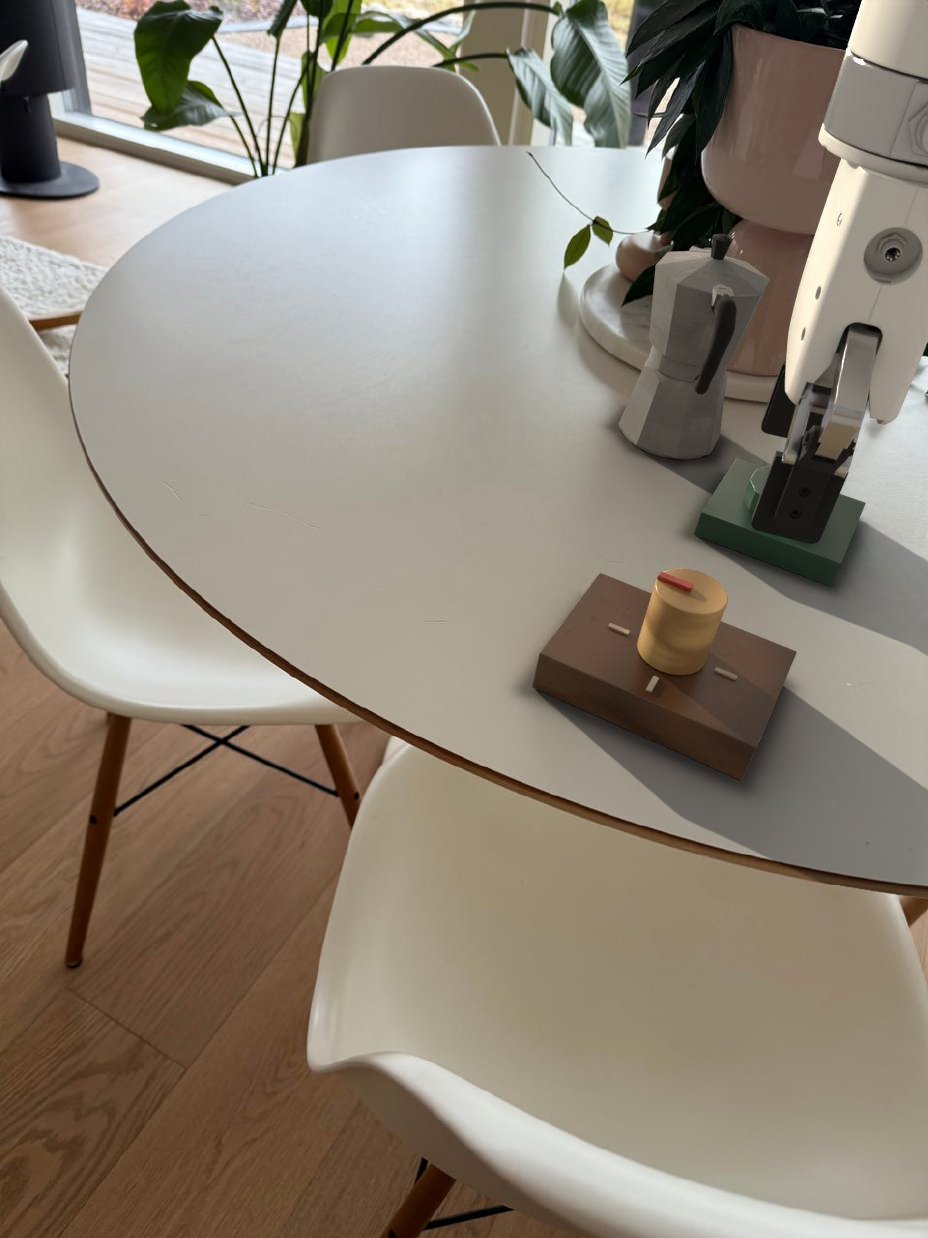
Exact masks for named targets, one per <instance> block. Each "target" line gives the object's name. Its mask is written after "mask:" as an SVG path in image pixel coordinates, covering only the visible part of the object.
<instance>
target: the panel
mask: <svg viewBox="0 0 928 1238" xmlns="http://www.w3.org/2000/svg"><path fill="white" fill-rule="evenodd" d="M651 595H652V592H650V591H647V590H644V589H642V588H640V587H637V586H634V585H632V584H629V583H627V582H624V581H622V580H620V579H617V578H615V577H612V576H609V575H607V574H604V573H602V572H598V573H597V575H596V576H595V578H593V580H592V581H591V583H590V584H589V585H588V587H587V588H586V589H585V591H584V592H583V593H582V595H581V596H580V597H579V599H577V602H576V603H575V605H573V607H572V609H571V610H570V611H569V612H568V614H567V615H566V617H565V618H564V619H563V621H562V622H561V623H560V624H559V626H558V627H557V629H556V630H555V631H554V633H553V634H552V635H551V637H550V638H549V639H548V641H547V642H546V644H545V645H544V646H543V648H542V649H541V650H540V652H539V653H538V657H537V663H536V666H535V671H534V676H533V681H532V685H531V687H532V688H533V689H535V690H538V691H539V692H542V693H544V694H547V695H549V696H551V697H553V698H556V699H558V700H561V701H562V702H564V703H567V704H569V705H572V706H573V707H576V708H577V709H580V710H582V711H584V712H587V713H589V714H591V715H593V716H596V717H598V718H600V719H603V720H605V721H607V722H608V723H611V724H614V725H616V726H618V727H621V728H623V729H625V730H626V731H630V732H631V733H633V734H636V735H639V736H640V737H643V738H644V739H647V740H650V741H652V742H654V743H656V744H659V745H661V746H663V747H666V748H668V749H669V750H671V751H675V752H676V753H679V754H681V755H683V756H686V757H687V758H689V759H692V760H694V761H696V762H698V763H701V764H703V765H706V766H707V767H710V768H713V769H715V770H717V771H719V772H721V773H724V774H726V775H728V776H730V777H732V778H735V779H736V780H739V781H743V780H744V778H745V776H746V774H747V772H748V769H749V767H750V765H751V762H752V760H753V758H754V756H755V754H756V751H757V749H758V747H759V744H760V742H761V740H762V737H763V735H764V732H765V730H766V728H767V725H768V723H769V721H770V718H771V716H772V714H773V711H774V708H775V706H776V703H777V701H778V698H779V696H780V694H781V692H782V689H783V686H784V684H785V682H786V680H787V678H788V675H789V672H790V670H791V667H792V665H793V663H794V660H795V658H796V655H797V651H796V650H794V649H792V648H789V647H787V646H784V645H783V644H780V643H776V642H774V641H771V640H769V639H767V638H764V637H762V636H759V635H757V634H754V633H752V632H749V631H747V630H745V629H742V628H740V627H737V626H735V625H731V624H729V623H727V622H724V621H722V620H721V622H720V624H719V627H718V630H717V632H716V635H715V638H714V641H713V643H712V646H711V649H710V651H709V654H708V657H707V660H706V662H705V665H704V666H703V667H702V668H701V669H700V670H699V671H697V672H695V673H693V674H689V675H673V674H668V673H664V672H662V671H659V670H657V669H655V668H654V667H652V666H651V665H649V664H648V663H647V662H646V661H645V660H644V659H643V658H642V657H641V655H640V653H639V651H638V647H637V642H638V638H639V635H640V632H641V628H642V625H643V622H644V618H645V615H646V612H647V609H648V605H649V602H650V599H651Z"/></svg>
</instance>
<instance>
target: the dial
mask: <svg viewBox="0 0 928 1238" xmlns="http://www.w3.org/2000/svg"><path fill="white" fill-rule="evenodd" d="M651 593H652V595H651V599H650V602H649V605H648V609H647V612H646V615H645V618H644V622H643V625H642V628H641V632H640V635H639V638H638V642H637V647H638V651H639V653H640V655H641V657H642V658H643V659H644V660H645V661H646V662H647V663H648V664H649V665H651V666H652V667H654V668H655V669H657V670H659V671H662V672H664V673H668V674H673V675H689V674H693V673H695V672H697V671H699V670H700V669H701V668H702V667H703V666H704V665H705V662H706V660H707V657H708V654H709V651H710V649H711V646H712V643H713V641H714V638H715V635H716V632H717V630H718V627H719V624H720V622H721V621H722V619H723V616H724V613H725V611H726V608H727V605H728V602H729V596H728V593H727V590H726V589H725V586H723V584H721V583H720V581H718V580H717V579H716V578H714V577H713V576H711V575H709V574H708V573H705V572H703V571H700V570H696V569H692V568H684V567H677V568H671V569H668V570H665V571H660V572H659V573H658V575H657V577H656V578H655V583H654V586H653V589H652V591H651Z"/></svg>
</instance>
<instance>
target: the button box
mask: <svg viewBox="0 0 928 1238" xmlns="http://www.w3.org/2000/svg"><path fill="white" fill-rule="evenodd" d="M770 467H771V464H770V465H767V466H762V465H759V464H756V463H754V462H750V461H747V460H744V459H742V458H739V457H736V458H735V459H734V460H733V463H732V464H731V465H730V467H729V468H728V470H727V471H726V472H725V474H724V476H723V478H722V479H721V480H720V482H719V484H718V485H717V487H716V488H715V490H714V491H713V493H712V494H711V496H710V498H709V499H708V500H707V502H706V504H705V505H704V507H703V508H702V510H701V511H700V514H699V518H698V520H697V524H696V526H695V530H694V531H693V535H694V536H696V537H699V538H701V539H704V540H706V541H709V542H712V543H715V544H718V545H720V546H723V547H725V548H728V549H730V550H733V551H735V552H738V553H741V554H744V555H747V556H749V557H752V558H755V559H757V560H760V561H761V562H765V563H767V564H770V565H773V566H775V567H777V568H781V569H782V570H783V569H784V570H786V571H789V572H791V573H794V574H797V575H799V576H802V577H805V578H806V579H810V580H813V581H815V582H818V583H821V584H823V585H826V586H829V587H832V586H833V584H834V581H835V579H836V577H837V575H838V572H839V570H840V568H841V565H842V563H843V561H844V558H845V555H846V553H847V551H848V549H849V546H850V543H851V541H852V538H853V536H854V534H855V531H856V528H857V526H858V524H859V522H860V519H861V516H862V514H863V512H864V509H865V507H866V502H865V501H862V500H859V499H856V498H853V497H851V496H848V495H845V494H842V493H840V494H839V497H838V499H837V501H836V504H835V506H834V508H833V511H832V513H831V515H830V518H829V520H828V522H827V525H826V527H825V529H824V532H823V534H822V536H821V539H820V540H819V541H818V542H817V543H815V544H808V543H804V542H800V541H796V540H792V539H788V538H784V537H780V536H776V535H772V534H768V533H764V532H760V531H757V530H755V529H753V527H752V525H751V523H752V516H753V513H754V510H755V508H756V505H757V502H758V499H759V497H760V494H761V491H762V488H763V486H764V483H765V480H766V478H767V475H768V472H769V469H770Z"/></svg>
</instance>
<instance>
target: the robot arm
mask: <svg viewBox="0 0 928 1238" xmlns="http://www.w3.org/2000/svg"><path fill="white" fill-rule="evenodd" d="M817 138H818V139H817V140H818V142H819V143H820V145H821V146H822V147H824V148H825V149H826V150H827V151H828V152H830V153H831V154H833V155H835V156H837V157H839V158H840V161H839V163H838V167H837V169H836V171H835V175H834V178H833V181H832V184H831V186H830V189H829V192H828V195H827V198H826V202H825V204H824V207H823V210H822V213H821V216H820V219H819V221H818V226H817V228H816V231H815V234H814V236H813V239H812V243H811V247H810V249H809V252H808V255H807V256H808V257H807V259H806V263H805V265H804V269H803V273H802V276H801V279H800V283H799V286H798V290H797V293H796V298H795V302H794V305H793V310H792V314H791V318H790V323H789V327H788V333H787V334H788V336H787V342H786V343H787V344H786V356H785V357H786V359H785V360H782V362H781V365H780V367H779V370H778V373H777V377H776V379H775V382H774V384H773V388H772V391H771V393H770V396H769V399H768V401H767V405H766V408H765V411H764V414H763V417H762V419H761V424H760V429H761V431H762V432H763V433H764V434H767V435H772V436H775V437H779V438H784V439H786V441H785V444H784V448H783V451H781V450H775V453H774V456H773V459H772V461H771V463H770V465H771V467H770V469H769V472H768V475H767V478H766V480H765V483H764V486H763V488H762V491H761V494H760V497H759V499H758V502H757V505H756V508H755V510H754V513H753V516H752V523H751V525H752V527H753V529H755V530H757V531H760V532H764V533H768V534H772V535H776V536H780V537H784V538H788V539H792V540H796V541H800V542H804V543H808V544H815V543H817V542H818V541H819V540H820V539H821V536H822V534H823V532H824V529H825V527H826V525H827V522H828V520H829V518H830V515H831V513H832V511H833V508H834V506H835V504H836V501H837V499H838V497H839V494H841V492H842V489H843V487H844V485H845V483H846V480H847V478H848V476H849V471H850V468H851V465H852V461H853V458H854V454H855V450H856V447H857V443H858V439H859V436H860V432H861V428H862V425H863V422H864V418H865V416H866V411H867V406H868V410H869V419H873V420H876V423H877V424H878V425H882V426H885V425H888V424H890V423H892V422H893V421H895V419H897V418H898V417H899V414H900V413H901V410H902V407H903V405H904V402H905V400H906V397H907V395H908V392H909V390H910V388H911V385H912V382H913V380H914V377H915V375H916V372H917V370H918V367H919V364H920V363H921V359H922V357H923V355H924V352H925V350H926V347H927V344H928V0H861V3H860V6H859V10H858V13H857V15H856V19H855V22H854V25H853V27H852V31H851V34H850V36H849V41H848V43H847V48H846V50H845V54H844V56H843V59H842V62H841V65H840V69H839V71H838V75H837V78H836V81H835V83H834V87H833V90H832V93H831V97H830V99H829V103H828V104H827V109H826V112H825V115H824V117H823V122H822V124H821V126H820V130H819V133H818V136H817Z"/></svg>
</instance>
